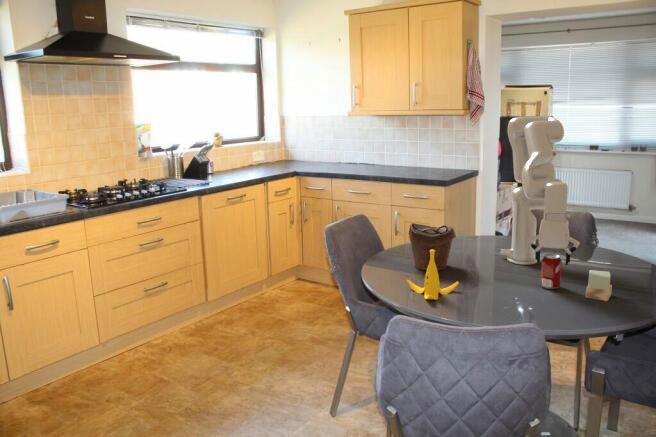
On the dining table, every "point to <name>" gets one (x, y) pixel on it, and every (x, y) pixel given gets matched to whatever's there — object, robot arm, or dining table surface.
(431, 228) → the brown flower pot
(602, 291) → the oak base block
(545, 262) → the soda can
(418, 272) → the dining table surface
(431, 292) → the banana peel
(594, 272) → the sage block
